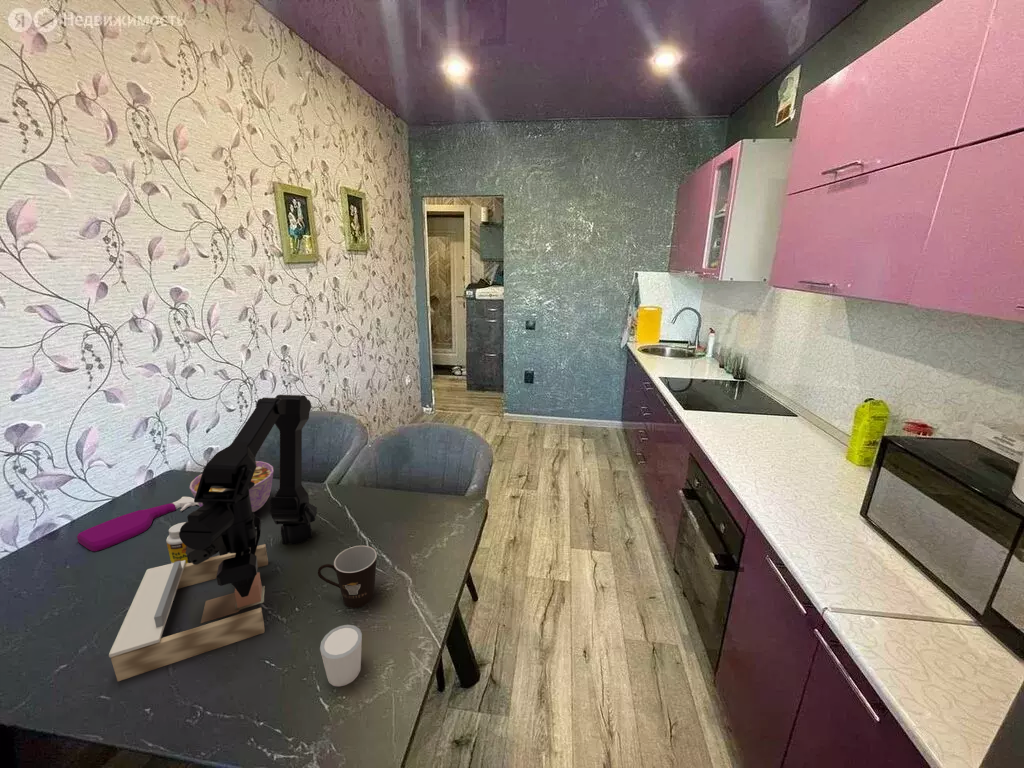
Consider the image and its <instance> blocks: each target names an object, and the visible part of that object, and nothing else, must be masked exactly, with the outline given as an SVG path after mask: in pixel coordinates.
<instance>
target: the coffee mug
mask: <svg viewBox="0 0 1024 768" xmlns="http://www.w3.org/2000/svg"><path fill="white" fill-rule="evenodd" d="M377 556H378V555H377V551H376V550H375V548H373V547H371V546H369V545H355V546H352V547H349V548H346V549H344V550H342V551H340V553H338V554H337V556H336V557H335V559H334V560H333V564H330V563H326V564H323V565H321V566H319V568H318V569H317V576H318V577H319V578H320V579H321V580H322V581H324V582H326V583H328V584H329V585H331V586H334V587H336V588H339V590H340V593H341V597H342V602H343V604H344V606H346V607H347V608H350V609H359V608H362V607H365V606H366V605H368V604H369V603H371V601H372V600H373V599H374V597H375V588H376V587H375V585H376V573H377V572H376V571H377V558H378V557H377ZM325 568H330V569H332V570H333V571H334V572H335V574H336V578H337V581H338V583H337V582H335V581H332V580H330V579H328V578H326V576H323V574H322V573H321V572H322V570H323V569H325Z"/></svg>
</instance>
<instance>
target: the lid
mask: <svg viewBox="0 0 1024 768" xmlns="http://www.w3.org/2000/svg"><path fill="white" fill-rule="evenodd" d="M185 563H186V561H185V560H184V561H177V562H174V563H171V562H170V563H168V564H164V565H160V566H155V567H151V568H147V569H146V571H145V573H144V575H143V578H142V580H141V582H140V584H139V585H138V586H139V587H138V589H137V590H136V593H135V595H134V597H133V600H132V603H131V604H130V607H129V608H128V611H127V613H126V616H125V617H124V619H123V622H122V625H121V626H120V629H119V630H118V633H117V636H116V638H115V640H114V642H113V643H112V647H111V648H110V651H109V654H108V657H109V658H111V657H113V656H116V655H119V654H123V653H126V652H129V651H132V650H136V649H139V648H142V647H145V646H148V645H152V644H155V643H158V642H160V639H161V638H162V636H163V633H164V630H165V627H166V624H167V620H168V617H169V615H170V612H171V608H172V606H173V603H174V602H173V601H174V600H175V597H176V594H177V591H178V589H177V588H178V585H179V582H180V579H181V575H182V572H183V569H184V566H185Z"/></svg>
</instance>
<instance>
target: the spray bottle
mask: <svg viewBox="0 0 1024 768" xmlns="http://www.w3.org/2000/svg"><path fill="white" fill-rule="evenodd" d="M194 499H195V497H194V498H193V497H191V496H182V497H181V498H179V499H178V500H176V501H173V502H170V503H166V504H162V505H158V506H153V507H150V508H146V509H139V510H135V511H132V512H129V513H126V514H122V515H120V516H117V517H115V518H111V519H109V520H107V521H104V522H101V523H100V524H97V525H94V526H92V527H89V528H86V529H85V530H82V531H81V532H79V533H78V534H77V536H76V538H77V542H78V544H80V545H81V546H83V547H84V548H86V549H88V550H89V551H91V552H99V551H103V550H105V549H107V548H111V547H113V546H114V545H118V544H120V543H122V542H125V541H128V540H129V539H132V538H134V537H136V536H138V535H140V534H143V533H144V532H146V531H147V530H149V528H150V527H151V525H152V523H153V520H154V519H156V518H159V517H162V516H165V515H166V514H169V513H171V512H173V513H174V512H175V511H176V510H177V509H179V508H181V509H180V510H179V511H180V512H182V511H184V510H186V509H187V508H188V507H195V506H199V504H198V503H195V502H194Z"/></svg>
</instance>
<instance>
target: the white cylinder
mask: <svg viewBox="0 0 1024 768" xmlns="http://www.w3.org/2000/svg"><path fill="white" fill-rule="evenodd" d="M362 637H363V633H362V631H361V629H360V628H359V627H357V626H356V625H353V624H344V625H343V624H342V625H338V626H337V627H334V628H332V629H331V630H330V631H329V632H327V633H326V634H325V635H324V637H323V638H322V640H321V642H320V647H319V651H320V654H321V657H322V662H323V667H324V671H325V674H326V678H327V680H328V683H329V684H330V685H332V686H333V687H343V686H347V685H349V684H351V683H352V682H354V681H355V679H356V678H357V677H358V676H359V674H360V672H361V669H362V665H361V664H362V646H363V645H362V642H363V641H362Z"/></svg>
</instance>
